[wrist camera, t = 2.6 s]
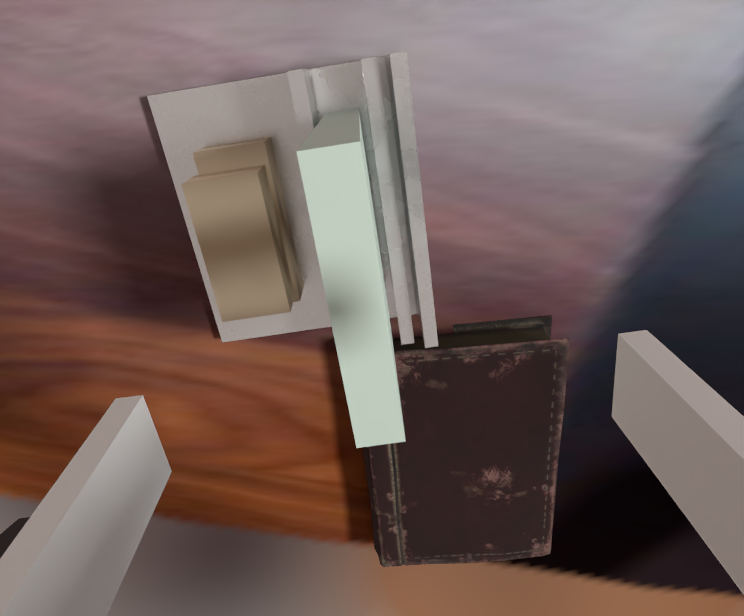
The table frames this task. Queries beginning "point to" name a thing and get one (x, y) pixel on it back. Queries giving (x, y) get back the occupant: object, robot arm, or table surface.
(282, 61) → the table surface
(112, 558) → the robot arm
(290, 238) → the offcut lower
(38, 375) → the table surface
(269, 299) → the offcut upper
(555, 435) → the diary
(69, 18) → the table surface
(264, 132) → the rack
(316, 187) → the board
